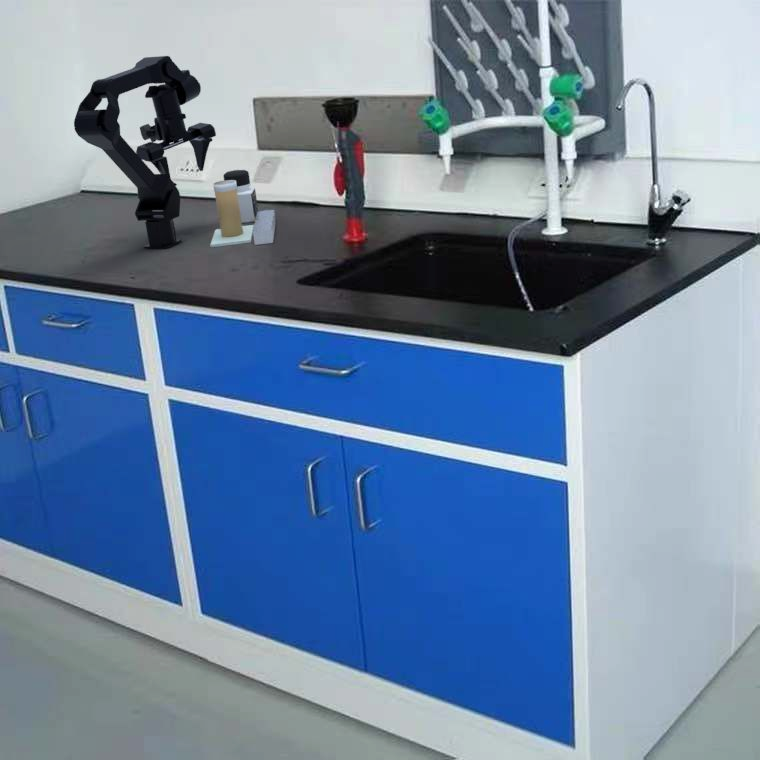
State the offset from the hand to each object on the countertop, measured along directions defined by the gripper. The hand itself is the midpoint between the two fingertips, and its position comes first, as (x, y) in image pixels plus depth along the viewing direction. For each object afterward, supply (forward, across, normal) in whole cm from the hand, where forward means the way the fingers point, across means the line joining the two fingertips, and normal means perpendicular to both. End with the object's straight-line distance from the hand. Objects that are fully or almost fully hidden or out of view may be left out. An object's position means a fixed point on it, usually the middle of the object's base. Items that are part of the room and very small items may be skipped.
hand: (185, 177), depth 294 cm
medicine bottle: (+15, -12, +2) cm, 19 cm away
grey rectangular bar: (+13, -6, +18) cm, 24 cm away
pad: (+12, 0, +15) cm, 19 cm away
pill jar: (+12, 0, +15) cm, 19 cm away
